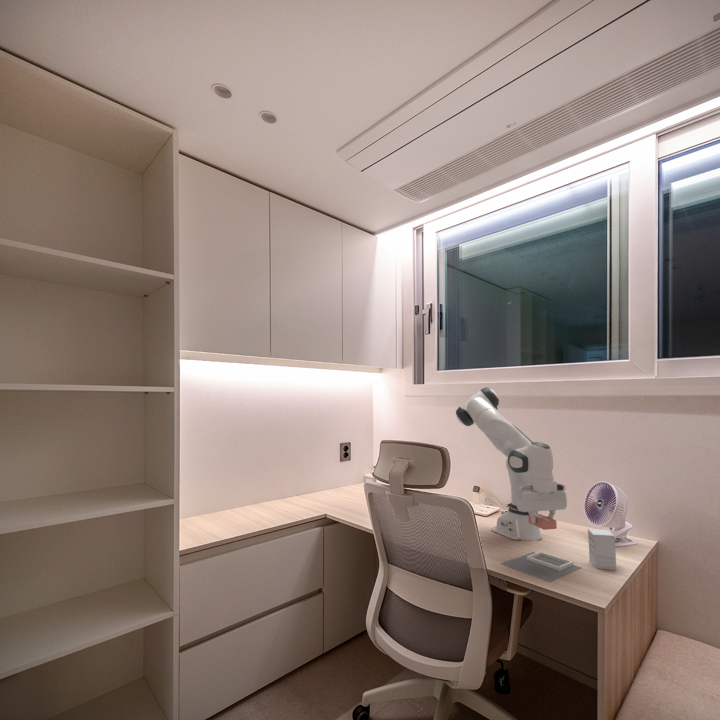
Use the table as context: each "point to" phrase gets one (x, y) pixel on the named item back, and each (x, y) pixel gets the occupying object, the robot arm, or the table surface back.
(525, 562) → the desk mat
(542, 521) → the card deck
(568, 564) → the frame
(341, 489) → the table surface
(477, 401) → the robot arm
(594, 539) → the supplement box
